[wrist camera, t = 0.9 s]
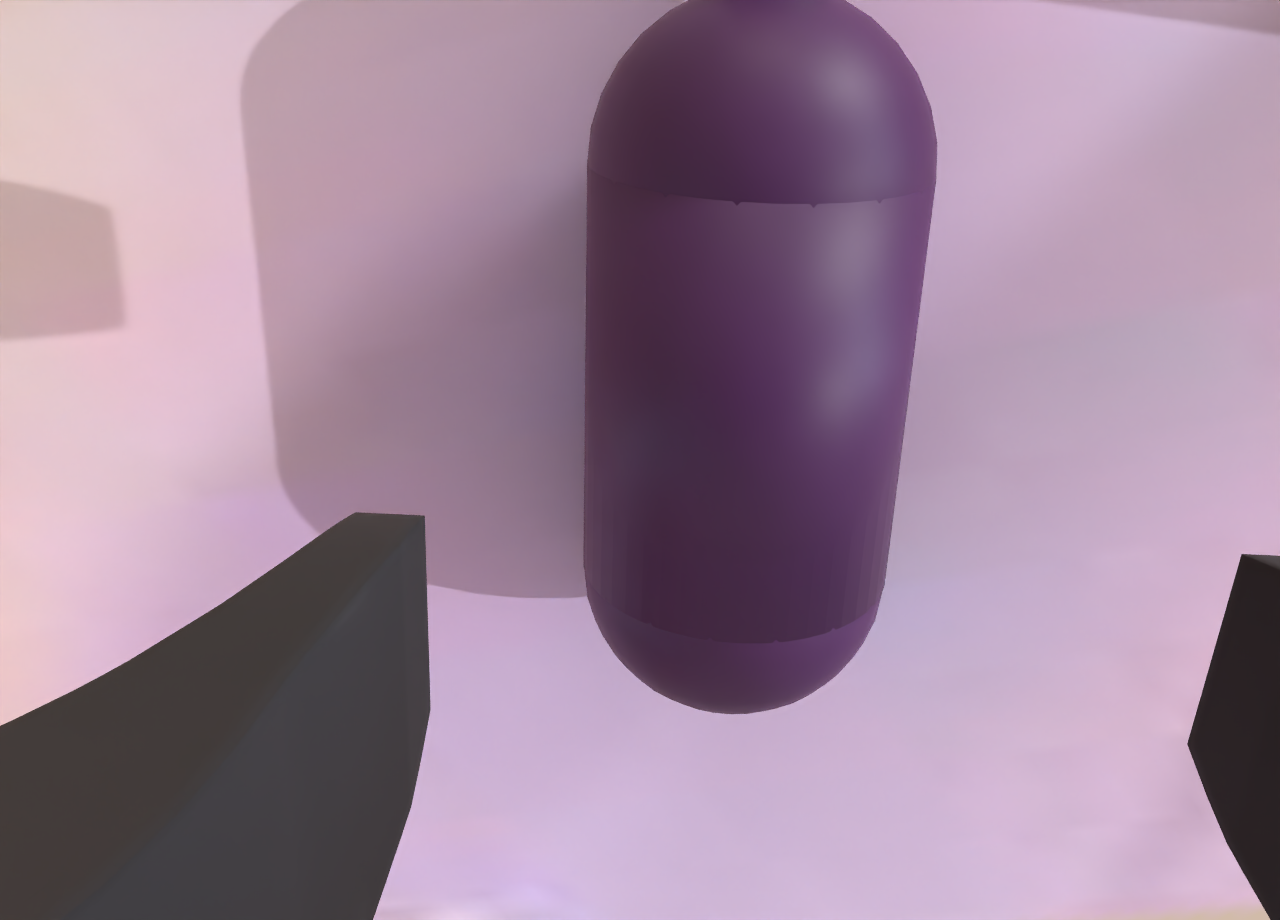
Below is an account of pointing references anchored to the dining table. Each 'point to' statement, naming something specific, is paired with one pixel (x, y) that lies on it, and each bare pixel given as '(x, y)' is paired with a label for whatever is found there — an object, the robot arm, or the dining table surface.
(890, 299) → the eggplant
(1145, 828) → the dining table surface
